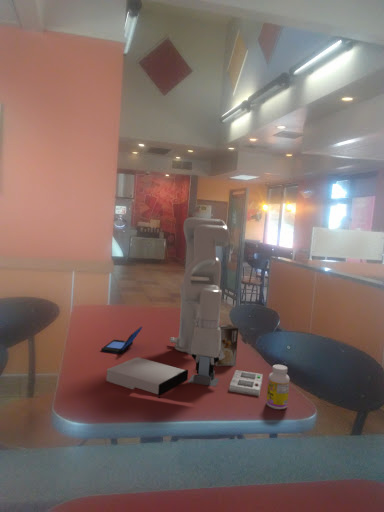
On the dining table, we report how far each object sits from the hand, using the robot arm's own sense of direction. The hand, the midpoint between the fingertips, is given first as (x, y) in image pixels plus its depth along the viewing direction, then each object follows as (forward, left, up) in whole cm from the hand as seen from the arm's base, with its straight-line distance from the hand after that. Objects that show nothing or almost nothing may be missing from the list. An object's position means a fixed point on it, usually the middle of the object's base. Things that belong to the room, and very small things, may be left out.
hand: (204, 373), depth 149 cm
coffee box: (+3, +22, -4) cm, 22 cm away
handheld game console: (-42, +24, -4) cm, 48 cm away
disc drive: (-19, -7, -4) cm, 21 cm away
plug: (0, 0, -2) cm, 2 cm away
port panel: (+15, +2, -4) cm, 16 cm away
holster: (0, 0, -4) cm, 4 cm away
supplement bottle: (+26, -9, -4) cm, 28 cm away
